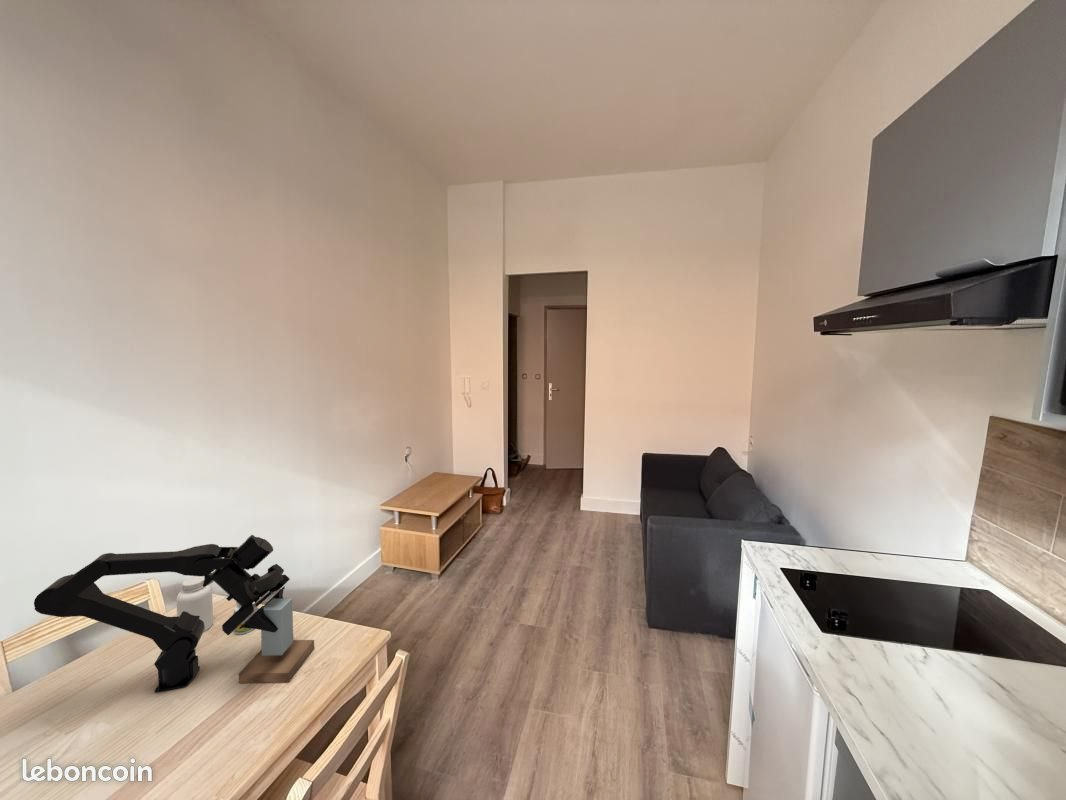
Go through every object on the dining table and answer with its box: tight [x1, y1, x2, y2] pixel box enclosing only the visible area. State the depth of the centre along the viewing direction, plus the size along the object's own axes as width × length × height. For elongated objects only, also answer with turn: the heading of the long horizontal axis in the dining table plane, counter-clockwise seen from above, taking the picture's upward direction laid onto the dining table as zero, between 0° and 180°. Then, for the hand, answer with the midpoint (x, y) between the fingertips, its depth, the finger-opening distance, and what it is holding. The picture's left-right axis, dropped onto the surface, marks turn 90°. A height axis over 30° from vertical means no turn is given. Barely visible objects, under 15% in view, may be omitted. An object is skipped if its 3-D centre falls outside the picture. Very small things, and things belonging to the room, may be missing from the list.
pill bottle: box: [176, 576, 214, 632], centre depth 115 cm, size 8×8×15 cm
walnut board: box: [238, 639, 315, 684], centre depth 102 cm, size 12×12×2 cm
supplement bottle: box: [233, 601, 255, 635], centre depth 116 cm, size 5×5×10 cm
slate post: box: [260, 598, 294, 655], centre depth 101 cm, size 5×5×12 cm
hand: (282, 624), depth 101 cm, fingers closed on slate post, 5 cm apart
